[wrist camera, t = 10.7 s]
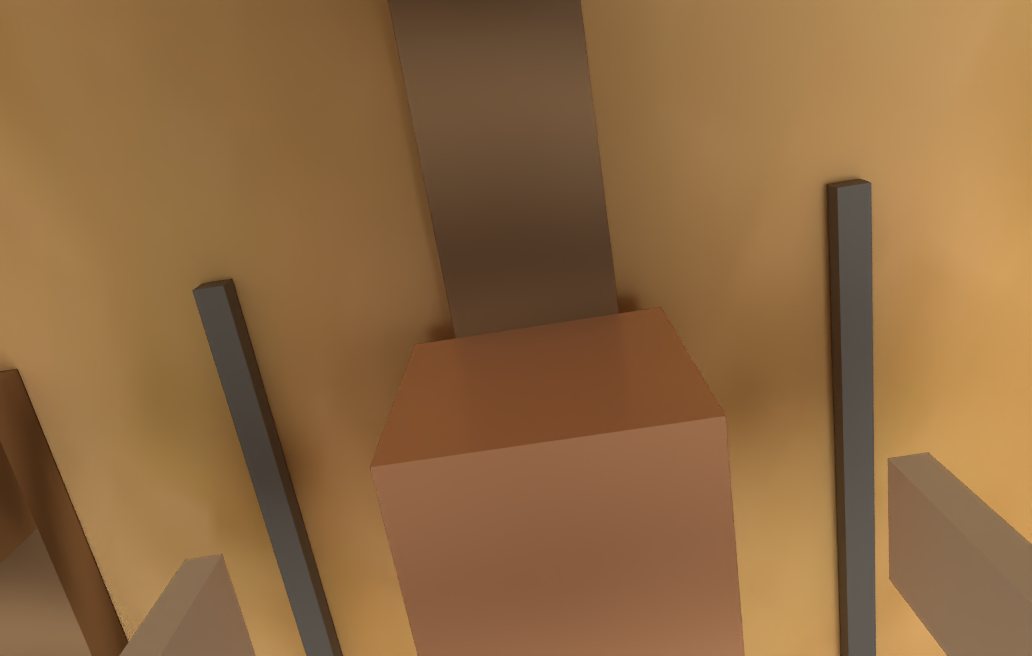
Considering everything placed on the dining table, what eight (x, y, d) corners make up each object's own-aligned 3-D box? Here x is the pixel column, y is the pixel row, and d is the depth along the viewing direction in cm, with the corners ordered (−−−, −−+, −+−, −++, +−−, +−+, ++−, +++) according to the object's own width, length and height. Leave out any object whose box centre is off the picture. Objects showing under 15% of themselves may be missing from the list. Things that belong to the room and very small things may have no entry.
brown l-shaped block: (350, -242, 16) (-17, -919, 5) (539, -279, 16) (589, -1069, 5) (507, 558, 22) (497, 1028, 11) (642, 539, 22) (764, 999, 11)
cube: (415, 344, 18) (369, 467, 13) (660, 307, 18) (725, 415, 12) (460, 551, 20) (438, 736, 15) (683, 520, 20) (747, 698, 14)
